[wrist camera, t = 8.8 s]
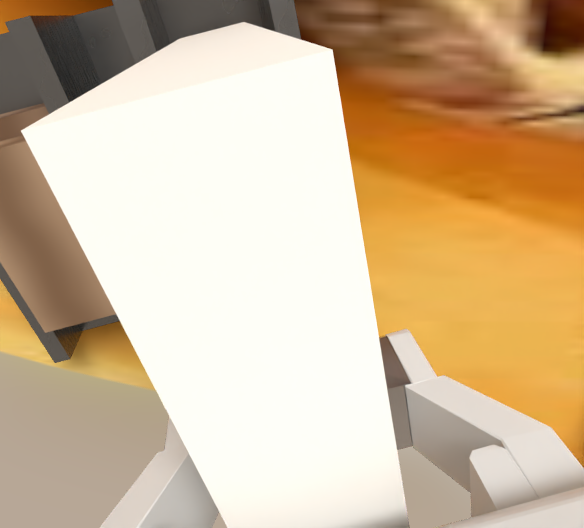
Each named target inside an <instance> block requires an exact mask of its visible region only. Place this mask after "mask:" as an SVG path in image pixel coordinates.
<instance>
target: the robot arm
mask: <svg viewBox="0 0 584 528" xmlns="http://www.w3.org/2000/svg"><path fill="white" fill-rule="evenodd" d="M379 342H380V348H381V354H382V360H383V366H384V373H385V379H386V385H387V391H388V397H389V403H390V410H391V416H392V422H393V428H394V434H395V441H396V447H397V450H398V449H403V448H407V447H410V446H413V448H414V449H415V450H417V451H418V452H419V453H420V454H422V455H423V456H424V457H426V458H427V459H428V460H429V461H431V462H432V463H433V464H435V465H436V466H437V467H438V468H439V469H441V470H442V471H443V472H445V473H446V474H447V475H448V476H450V477H451V478H452V479H453V480H455V481H456V482H457V483H459V484H460V485H461V486H462V487H464V488H465V489H466V490H467V491H469V492H470V493H471V518H468V519H464V520H461V521H457V522H453V523H450V524H446V525H442V526H439V527H435V528H584V468H583V467H582V465H581V464H580V463H579V462H578V460H577V459H576V458H575V457H574V455H573V454H572V453H571V452H570V450H569V449H568V448H567V447H566V445H565V444H564V443H563V442H562V440H561V439H560V438H559V437H558V436H557V434H556V433H555V432H554V431H553V429H552V428H551V427H549V426H547V425H545V424H543V423H541V422H539V421H537V420H535V419H533V418H531V417H528V416H526V415H524V414H522V413H520V412H518V411H516V410H514V409H512V408H510V407H508V406H506V405H504V404H502V403H500V402H498V401H496V400H494V399H492V398H490V397H488V396H485V395H483V394H481V393H479V392H477V391H475V390H473V389H471V388H469V387H467V386H465V385H463V384H461V383H459V382H457V381H455V380H453V379H451V378H449V377H447V376H445V375H443V376H439V377H437V375H436V374H435V372H434V370H433V369H432V367H431V365H430V364H429V362H428V360H427V359H426V357H425V355H424V354H423V352H422V351H421V349H420V347H419V346H418V344H417V342H416V341H415V339H414V337H413V336H412V334H411V332H410V331H409V330H407V329H404V330H400V331H397V332H393V333H390V334H386V335H385V336H380V337H379ZM218 513H219V510H218V508H217V506H216V504H215V503H214V501H213V499H212V497H211V495H210V493H209V491H208V489H207V487H206V485H205V483H204V481H203V480H202V478H201V476H200V474H199V472H198V470H197V468H196V466H195V464H194V462H193V460H192V458H191V456H190V455H189V453H188V451H187V449H186V447H185V445H184V443H183V441H182V439H181V437H180V435H179V433H178V431H177V430H176V428H175V426H174V424H173V422H172V420H171V418H170V416H169V417H168V425H167V432H166V439H165V447H164V451H161V452H157V454H156V455H155V456H154V458H153V459H152V460H151V461H150V463H149V464H148V466H147V467H146V468H145V469H144V471H143V472H142V473H141V475H140V476H139V477H138V478H137V480H136V481H135V483H134V484H133V485H132V486H131V487H130V489H129V490H128V491H127V493H126V494H125V495H124V497H123V498H122V499H121V501H120V502H119V503H118V504H117V506H116V507H115V508H114V510H113V511H112V512H111V514H110V515H109V516H108V517H107V519H106V520H105V521H104V523H103V524H102V525H101V527H100V528H212V526H213V524H214V522H215V520H216V517H217V516H218Z"/></svg>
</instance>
